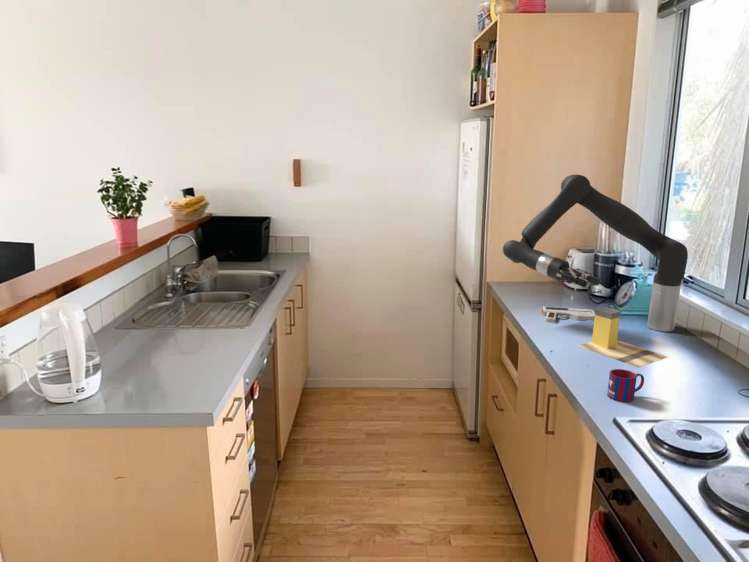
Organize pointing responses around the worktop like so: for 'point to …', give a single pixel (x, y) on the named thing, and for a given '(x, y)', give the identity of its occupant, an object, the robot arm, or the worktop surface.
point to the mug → (623, 385)
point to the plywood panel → (626, 353)
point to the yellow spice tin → (606, 327)
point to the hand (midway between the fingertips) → (592, 283)
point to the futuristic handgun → (567, 314)
